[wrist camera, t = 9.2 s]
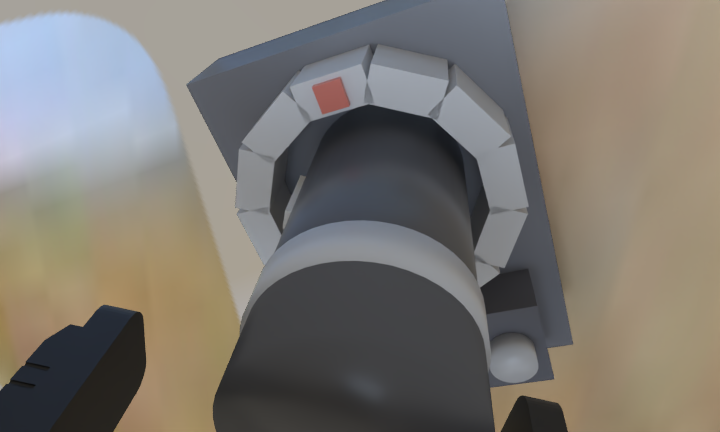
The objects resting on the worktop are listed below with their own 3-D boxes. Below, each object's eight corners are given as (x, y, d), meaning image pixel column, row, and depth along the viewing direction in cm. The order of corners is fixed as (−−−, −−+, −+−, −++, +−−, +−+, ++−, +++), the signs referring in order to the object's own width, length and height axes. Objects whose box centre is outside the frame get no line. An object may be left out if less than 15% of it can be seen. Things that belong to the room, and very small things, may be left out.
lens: (489, 121, 16) (552, 378, 8) (440, 251, 19) (448, 540, 11) (324, 80, 16) (212, 297, 8) (300, 217, 19) (198, 483, 11)
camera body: (558, 294, 23) (590, 403, 18) (347, 330, 26) (327, 433, 21) (490, -37, 17) (512, -4, 12) (218, 58, 19) (145, 116, 15)
